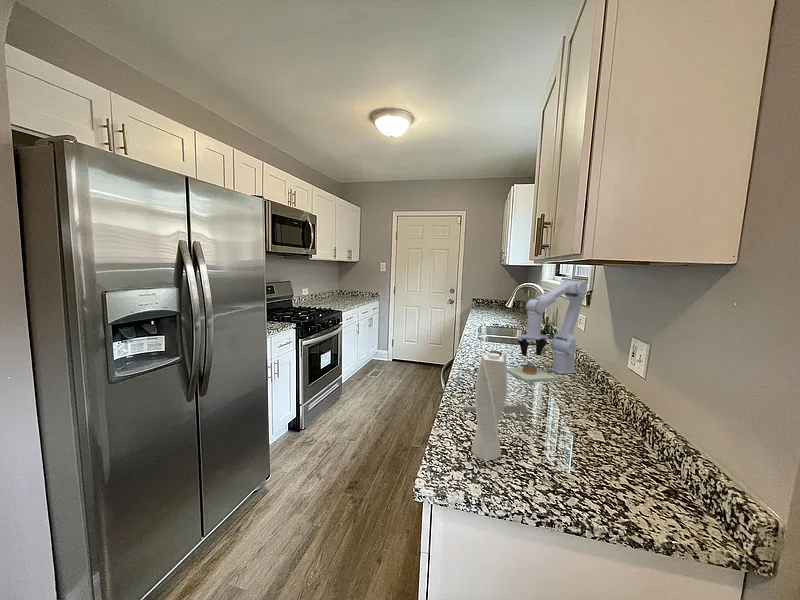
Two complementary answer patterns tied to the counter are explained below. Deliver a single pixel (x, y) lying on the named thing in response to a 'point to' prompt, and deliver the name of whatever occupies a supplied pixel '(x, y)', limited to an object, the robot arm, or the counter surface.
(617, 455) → the counter surface
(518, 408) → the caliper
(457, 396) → the counter surface
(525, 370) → the collar
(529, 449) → the counter surface
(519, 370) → the post board
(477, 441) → the skyscraper
